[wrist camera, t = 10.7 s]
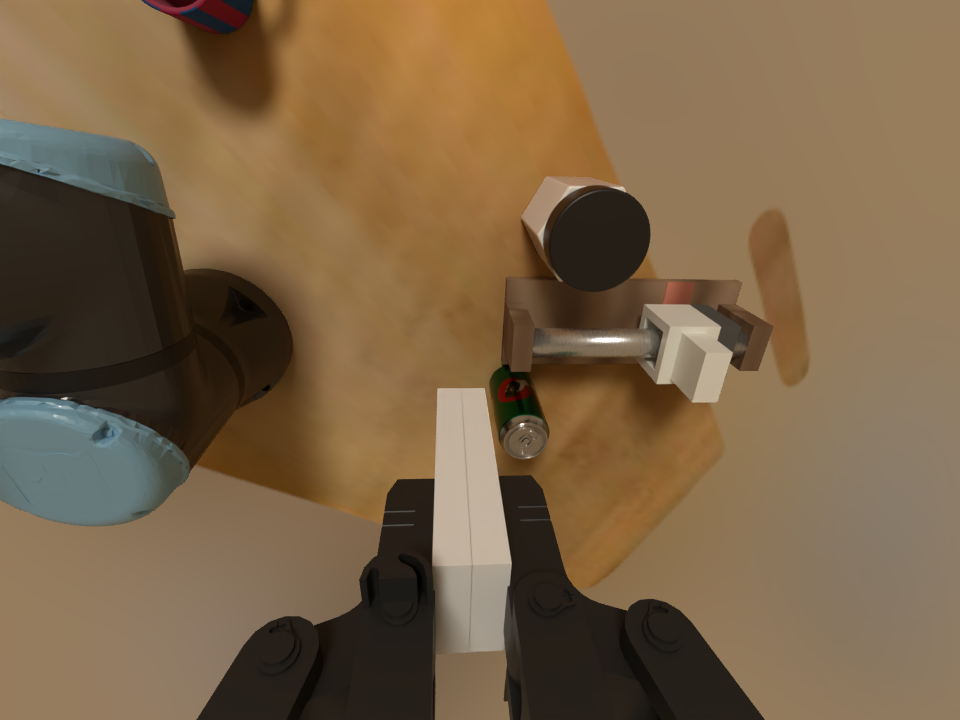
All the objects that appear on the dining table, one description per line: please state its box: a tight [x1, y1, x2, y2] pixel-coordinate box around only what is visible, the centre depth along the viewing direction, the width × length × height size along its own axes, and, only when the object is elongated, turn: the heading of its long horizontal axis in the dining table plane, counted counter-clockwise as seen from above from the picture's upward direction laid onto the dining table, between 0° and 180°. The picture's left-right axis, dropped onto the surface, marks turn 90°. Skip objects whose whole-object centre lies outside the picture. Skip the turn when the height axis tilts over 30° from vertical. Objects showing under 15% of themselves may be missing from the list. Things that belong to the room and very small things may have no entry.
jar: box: [521, 176, 650, 292], centre depth 40 cm, size 9×8×12 cm
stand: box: [501, 277, 773, 372], centre depth 48 cm, size 26×10×8 cm, turn 88°
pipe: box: [532, 328, 748, 358], centre depth 46 cm, size 24×3×3 cm, turn 88°
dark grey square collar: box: [691, 305, 741, 377], centre depth 46 cm, size 2×6×6 cm, turn 178°
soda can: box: [489, 365, 549, 459], centre depth 49 cm, size 5×5×12 cm
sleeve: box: [635, 304, 733, 402], centre depth 44 cm, size 5×6×11 cm
